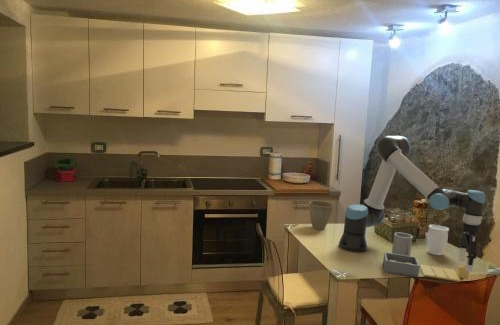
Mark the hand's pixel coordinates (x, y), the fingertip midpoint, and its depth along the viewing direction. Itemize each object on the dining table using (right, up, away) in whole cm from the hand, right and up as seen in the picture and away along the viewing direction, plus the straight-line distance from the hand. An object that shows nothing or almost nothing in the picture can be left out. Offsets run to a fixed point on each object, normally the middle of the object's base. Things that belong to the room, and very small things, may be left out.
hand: (464, 265), depth 200 cm
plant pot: (-60, +8, +63) cm, 87 cm away
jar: (0, -1, +33) cm, 33 cm away
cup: (-23, -1, +22) cm, 32 cm away
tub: (-30, -3, +3) cm, 30 cm away
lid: (-9, -5, +3) cm, 10 cm away
